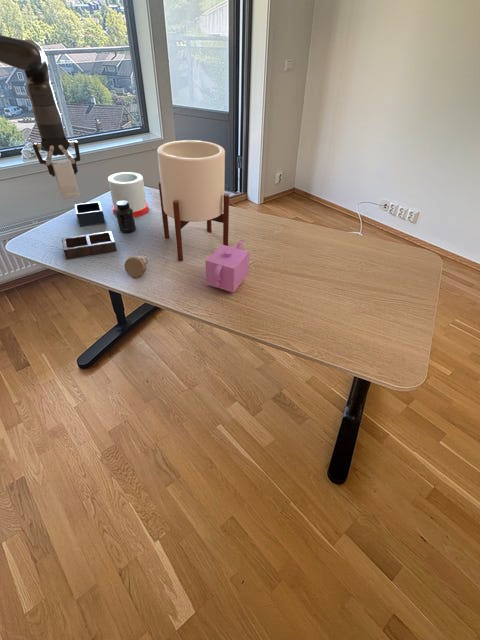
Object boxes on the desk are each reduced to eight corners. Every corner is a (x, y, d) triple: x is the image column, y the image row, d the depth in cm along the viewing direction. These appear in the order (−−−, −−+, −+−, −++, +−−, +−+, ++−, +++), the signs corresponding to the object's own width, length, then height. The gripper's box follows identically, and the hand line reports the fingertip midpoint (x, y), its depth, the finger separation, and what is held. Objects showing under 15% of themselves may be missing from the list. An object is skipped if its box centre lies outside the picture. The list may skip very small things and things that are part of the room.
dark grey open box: (79, 226, 146) (76, 214, 142) (77, 216, 153) (74, 204, 149) (105, 223, 149) (102, 210, 146) (102, 213, 156) (99, 201, 153)
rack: (66, 259, 126) (63, 250, 124) (64, 247, 133) (61, 238, 130) (116, 251, 132) (114, 242, 130) (113, 239, 139) (111, 230, 136)
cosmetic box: (78, 192, 128) (69, 158, 120) (81, 197, 125) (72, 162, 117) (60, 195, 125) (49, 160, 117) (63, 200, 123) (52, 164, 115)
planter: (176, 263, 127) (167, 162, 104) (161, 236, 143) (150, 142, 119) (232, 253, 135) (235, 156, 111) (212, 228, 150) (211, 138, 126)
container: (155, 207, 164) (151, 175, 154) (134, 220, 153) (128, 186, 143) (127, 200, 168) (122, 169, 159) (105, 212, 157) (98, 179, 148)
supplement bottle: (120, 226, 148) (115, 199, 140) (137, 226, 148) (132, 199, 140) (118, 234, 142) (112, 206, 134) (135, 234, 143) (130, 206, 135)
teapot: (229, 300, 112) (230, 267, 104) (202, 291, 115) (201, 259, 107) (253, 270, 126) (256, 239, 118) (229, 263, 129) (229, 232, 121)
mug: (154, 263, 127) (151, 250, 118) (143, 286, 124) (140, 273, 114) (134, 256, 127) (131, 242, 118) (123, 278, 124) (118, 265, 114)
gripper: (72, 117, 114) (85, 169, 125) (23, 119, 109) (41, 173, 120) (74, 122, 109) (87, 176, 120) (23, 124, 104) (41, 180, 115)
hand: (64, 174), depth 120 cm, fingers closed on cosmetic box, 6 cm apart
